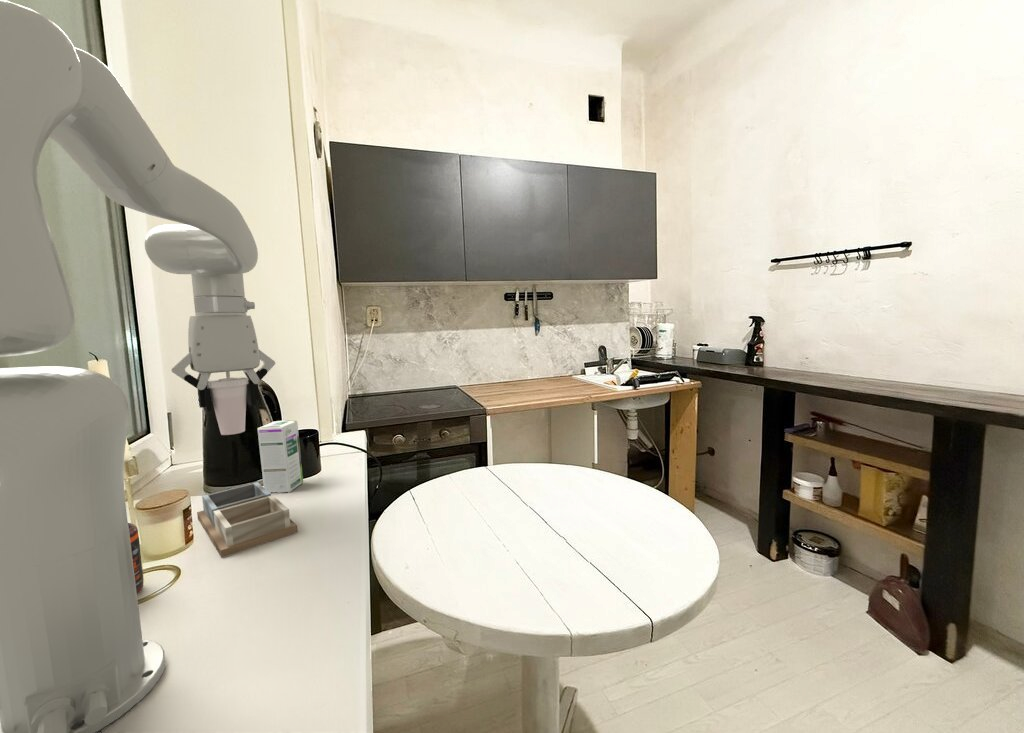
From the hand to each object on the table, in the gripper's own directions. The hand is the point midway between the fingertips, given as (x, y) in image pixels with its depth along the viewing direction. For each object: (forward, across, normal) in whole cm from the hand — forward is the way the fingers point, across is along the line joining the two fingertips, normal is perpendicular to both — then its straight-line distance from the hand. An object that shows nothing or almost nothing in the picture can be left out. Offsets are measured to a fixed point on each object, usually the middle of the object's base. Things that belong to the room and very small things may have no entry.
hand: (230, 407), depth 77 cm
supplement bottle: (+21, +18, +16) cm, 31 cm away
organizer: (+21, 0, +4) cm, 21 cm away
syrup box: (+21, -10, -10) cm, 25 cm away
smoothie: (+5, 0, 0) cm, 5 cm away
